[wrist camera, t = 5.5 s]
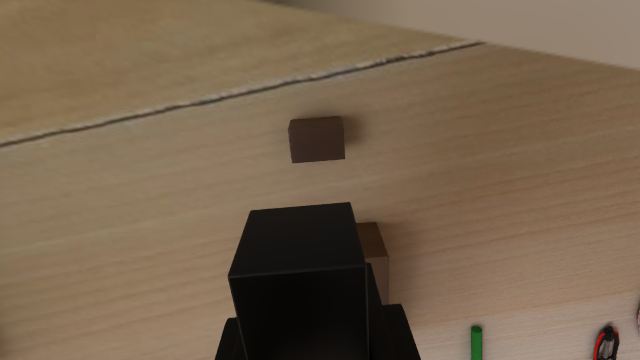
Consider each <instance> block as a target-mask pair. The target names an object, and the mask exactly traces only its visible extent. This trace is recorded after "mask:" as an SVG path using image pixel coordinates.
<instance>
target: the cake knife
mask: <svg viewBox="0 0 640 360" xmlns="http://www.w3.org/2000/svg"><path fill="white" fill-rule="evenodd" d="M228 281H229V285H230V289H231V294H232V298H233V302H234V306H235V311H236V315H237V319H238V323H239V328H240V332H241V336H242V340H243V345H244V349H245V353H246V357H247V360H369V331H368V295H367V265H366V261H365V257H364V253H363V249H362V245H361V241H360V237H359V233H358V230H357V226H356V222H355V218H354V214H353V210H352V206H351V203H350V202H345V203H333V204H322V205H310V206H298V207H286V208H274V209H262V210H252V211H250V213H249V216H248V219H247V222H246V225H245V228H244V231H243V233H242V236H241V239H240V242H239V245H238V248H237V251H236V254H235V256H234V259H233V262H232V265H231V268H230V271H229V274H228Z"/></svg>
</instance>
